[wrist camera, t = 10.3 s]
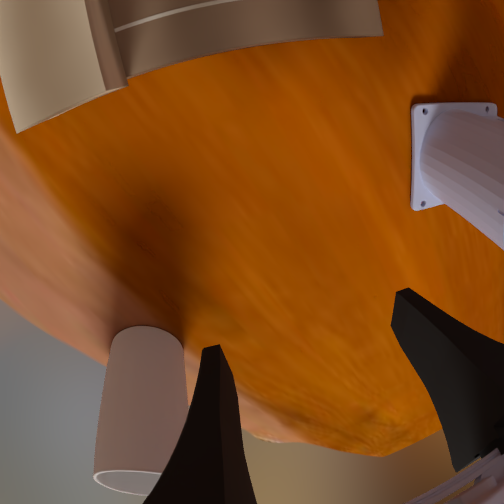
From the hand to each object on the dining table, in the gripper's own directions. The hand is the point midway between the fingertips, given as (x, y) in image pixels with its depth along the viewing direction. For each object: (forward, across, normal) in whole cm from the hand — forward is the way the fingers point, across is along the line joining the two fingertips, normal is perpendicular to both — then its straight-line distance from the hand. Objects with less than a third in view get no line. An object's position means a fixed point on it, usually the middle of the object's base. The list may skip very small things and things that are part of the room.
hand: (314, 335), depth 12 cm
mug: (+10, +13, +10) cm, 19 cm away
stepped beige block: (+10, +7, -16) cm, 20 cm away
